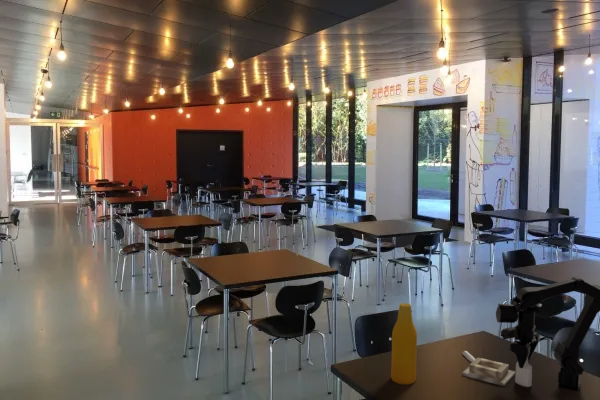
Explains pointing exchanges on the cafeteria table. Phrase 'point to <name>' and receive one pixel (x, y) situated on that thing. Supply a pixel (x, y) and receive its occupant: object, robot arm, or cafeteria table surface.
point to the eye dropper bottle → (524, 374)
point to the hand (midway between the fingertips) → (524, 364)
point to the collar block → (489, 371)
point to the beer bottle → (404, 347)
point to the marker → (468, 356)
